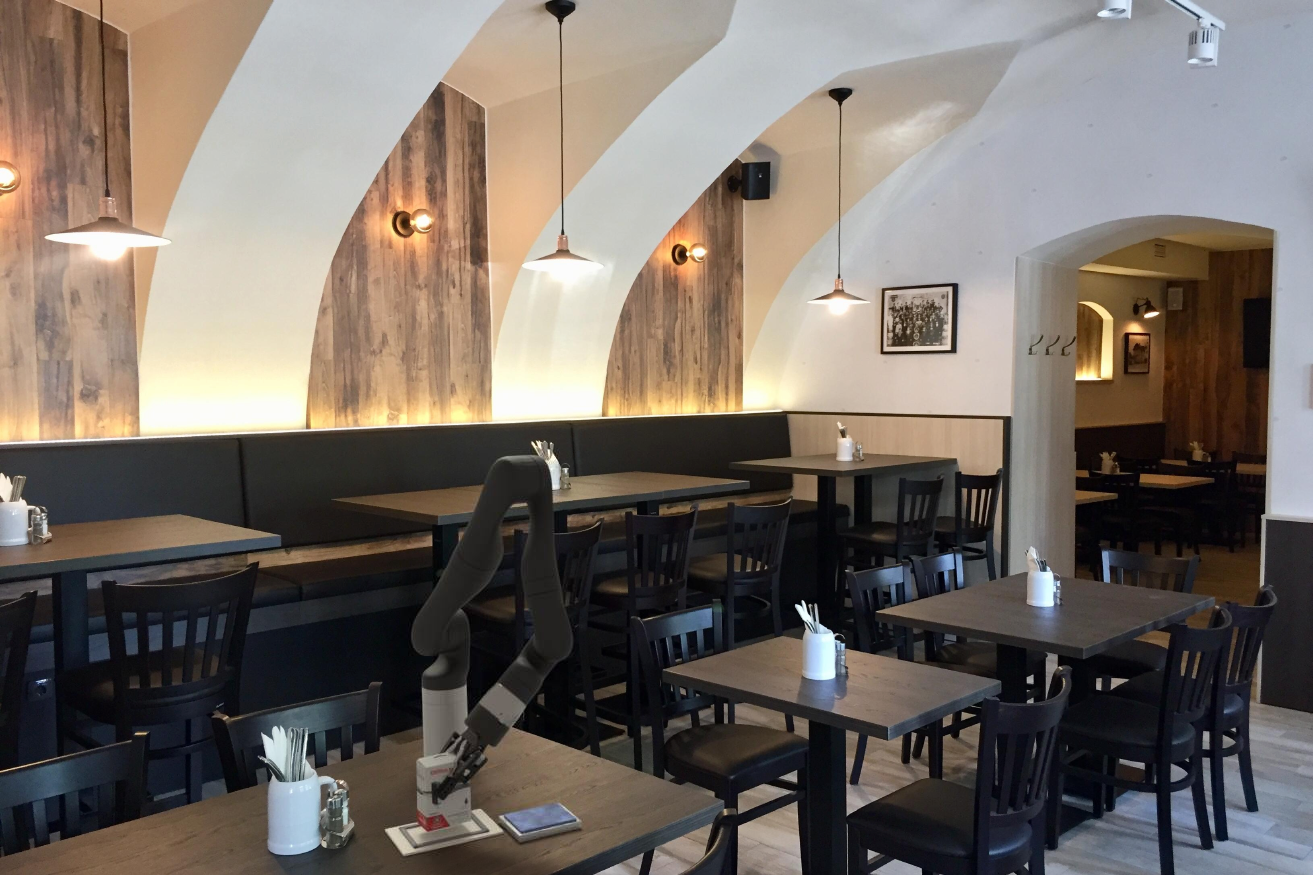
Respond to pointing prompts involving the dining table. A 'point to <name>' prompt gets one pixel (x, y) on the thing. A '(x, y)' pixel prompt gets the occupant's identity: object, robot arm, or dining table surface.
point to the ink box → (429, 806)
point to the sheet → (442, 834)
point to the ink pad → (539, 822)
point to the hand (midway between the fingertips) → (433, 791)
